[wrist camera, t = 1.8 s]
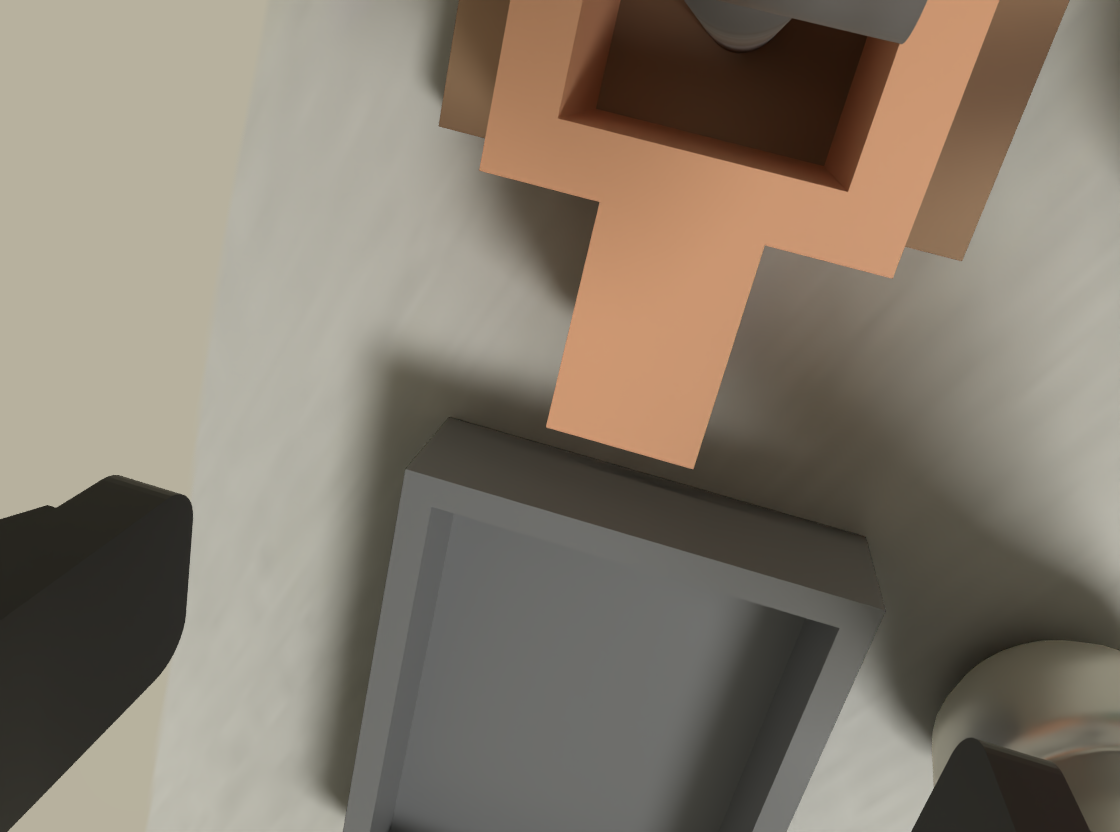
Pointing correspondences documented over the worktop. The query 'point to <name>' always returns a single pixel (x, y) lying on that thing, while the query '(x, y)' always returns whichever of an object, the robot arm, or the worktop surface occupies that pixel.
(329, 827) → the worktop surface
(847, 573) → the tray
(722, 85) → the stake stand
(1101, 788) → the plastic bottle
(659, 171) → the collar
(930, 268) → the worktop surface
